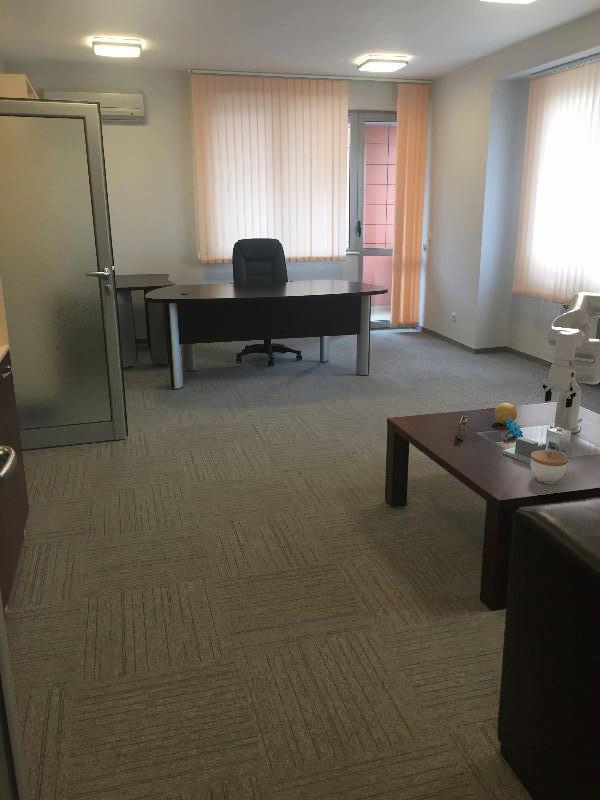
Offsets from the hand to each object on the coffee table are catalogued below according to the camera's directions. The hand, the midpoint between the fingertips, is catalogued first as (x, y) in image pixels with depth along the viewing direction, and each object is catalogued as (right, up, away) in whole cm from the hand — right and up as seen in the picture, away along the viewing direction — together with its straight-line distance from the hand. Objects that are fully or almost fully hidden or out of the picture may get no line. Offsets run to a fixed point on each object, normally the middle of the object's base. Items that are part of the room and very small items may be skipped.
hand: (557, 404), depth 261 cm
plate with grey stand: (-11, -20, -3) cm, 23 cm away
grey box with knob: (+2, -18, +5) cm, 19 cm away
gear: (-12, -15, +19) cm, 26 cm away
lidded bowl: (-15, -27, -26) cm, 41 cm away
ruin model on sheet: (-34, -14, +19) cm, 41 cm away
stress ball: (-10, -10, +36) cm, 38 cm away
